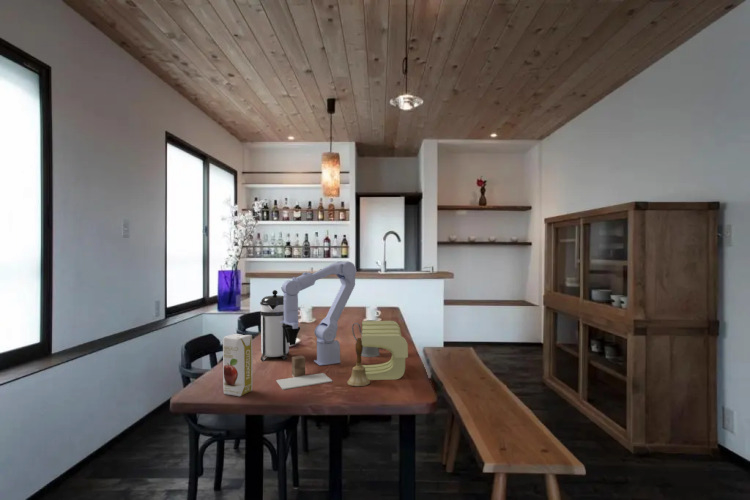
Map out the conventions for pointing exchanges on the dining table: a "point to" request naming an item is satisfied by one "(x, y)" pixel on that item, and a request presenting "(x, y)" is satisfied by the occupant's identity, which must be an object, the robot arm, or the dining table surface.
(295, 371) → the walnut block
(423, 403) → the dining table surface
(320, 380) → the felt mat
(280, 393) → the dining table surface
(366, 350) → the glass holder
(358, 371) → the hand bell
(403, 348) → the slatted curved stool
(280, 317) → the coffee press
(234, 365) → the juice carton
